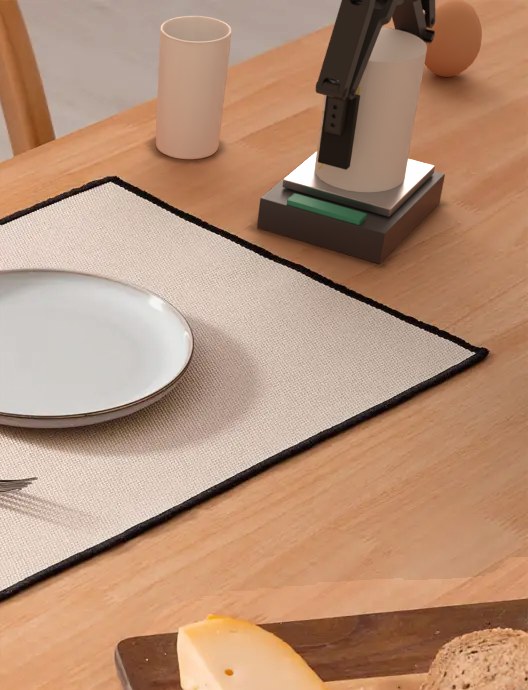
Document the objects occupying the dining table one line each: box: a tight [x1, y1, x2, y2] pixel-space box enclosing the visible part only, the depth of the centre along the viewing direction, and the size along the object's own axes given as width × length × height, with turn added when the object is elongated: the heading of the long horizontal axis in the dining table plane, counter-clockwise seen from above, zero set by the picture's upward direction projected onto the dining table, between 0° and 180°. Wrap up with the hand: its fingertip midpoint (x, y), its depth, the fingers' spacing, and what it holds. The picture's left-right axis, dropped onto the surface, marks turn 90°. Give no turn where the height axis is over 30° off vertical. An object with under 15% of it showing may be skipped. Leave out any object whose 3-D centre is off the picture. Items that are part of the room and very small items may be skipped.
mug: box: [155, 15, 232, 160], centre depth 152 cm, size 10×7×12 cm, turn 163°
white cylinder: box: [315, 26, 427, 192], centre depth 138 cm, size 8×8×12 cm
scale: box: [256, 151, 446, 265], centre depth 142 cm, size 12×14×4 cm
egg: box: [424, 0, 483, 78], centre depth 166 cm, size 6×6×8 cm
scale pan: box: [282, 150, 436, 217], centre depth 142 cm, size 10×10×1 cm
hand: (365, 137), depth 139 cm, fingers open, 13 cm apart
